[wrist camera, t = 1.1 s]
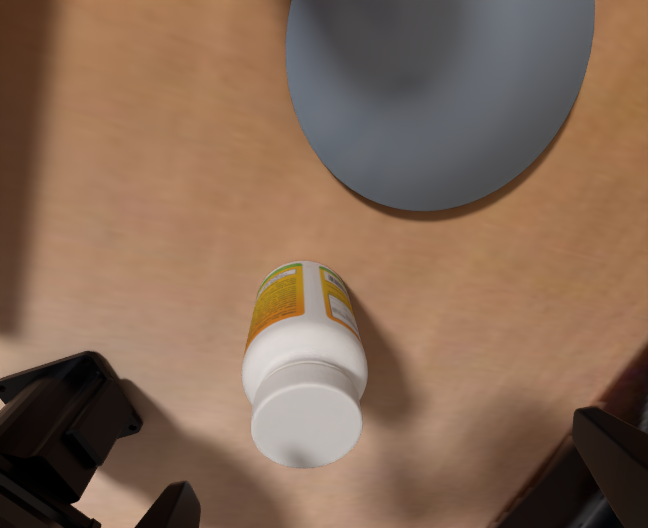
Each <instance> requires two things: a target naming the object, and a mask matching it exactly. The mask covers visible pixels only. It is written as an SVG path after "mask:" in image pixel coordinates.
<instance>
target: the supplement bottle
mask: <svg viewBox="0 0 648 528" xmlns="http://www.w3.org/2000/svg"><path fill="white" fill-rule="evenodd" d="M367 378H368V367H367V361H366V356H365V352H364V348H363V345H362V341H361V338H360V334H359V331H358V327H357V324H356V320H355V317H354V314H353V310H352V307H351V303H350V300H349V296H348V293H347V291H346V288H345V286H344V284H343V282H342V280H341V279H340V278H339V276H338V275H337V274H336V273H335V272H334V271H332V270H331V269H330V268H328V267H326V266H324V265H322V264H320V263H316V262H312V261H295V262H290V263H287V264H284V265H282V266H280V267H278V268H276V269H275V270H273V271H272V272H271V273H270V274H269V275H268V276H267V277H266V278H265V279H264V281H263V282H262V284H261V286H260V288H259V291H258V294H257V297H256V302H255V307H254V312H253V316H252V321H251V326H250V330H249V334H248V339H247V343H246V349H245V353H244V359H243V367H242V382H243V387H244V390H245V393H246V395H247V397H248V399H249V401H250V403H251V404H252V405H253V410H252V419H251V433H252V437H253V440H254V443H255V444H256V446H257V448H258V449H259V450H260V451H261V452H262V453H263V454H264V455H265V456H266V457H267V458H269V459H270V460H272V461H274V462H276V463H278V464H281V465H284V466H288V467H292V468H315V467H320V466H324V465H327V464H330V463H332V462H334V461H336V460H338V459H340V458H342V457H343V456H345V455H346V454H347V453H348V452H349V451H350V450H351V449H352V448H353V447H354V446H355V445H356V443H357V441H358V440H359V437H360V435H361V432H362V427H363V418H362V412H361V406H360V399H361V397H362V395H363V393H364V390H365V388H366V384H367Z"/></svg>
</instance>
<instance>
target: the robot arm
mask: <svg viewBox="0 0 648 528" xmlns="http://www.w3.org/2000/svg"><path fill="white" fill-rule="evenodd" d="M86 359H88V360H90V361H87V360H86ZM0 399H1V400H2V401H3V402H4V403H5V404H6V405H5V406H4V407H3V408H2V409H1V410H0V528H101V523H99V522H98V521H97V520H95V519H94V518H93V519H90V518H89V517H87V516H86V515H84V514H83V513H82V512H80V511H79V510H77V509H76V508H75V507H73V506H72V505H71V504H72V503H75V502H78V501H79V500H80V498H81V496H82V494H83V493H84V491H85V489H86V487H87V485H88V484H89V482H90V480H91V478H92V477H93V475H94V473H95V471H96V469H97V468H98V467H99V466H102V464H103V463H104V461H105V459H106V458H107V456H108V454H109V452H110V450H111V448H112V447H113V445H114V443H115V441H116V439H119V438H122V437H125V436H128V435H132V434H135V433H138V432H139V431H140V429H141V427H142V425H143V422H142V420H141V419H140V417H139V416H138V414H137V413H136V411H135V410H134V408H133V407H132V405H131V404H130V403H129V401H128V400H127V398H126V397H125V395H124V394H123V392H122V391H121V389H120V388H119V387H118V385H117V384H116V382H115V381H114V379H113V378H112V376H111V375H110V374H109V372H108V371H107V369H106V368H105V366H104V365H103V363H102V362H101V360H100V359H99V358H98V356H97V355H96V354H95V353H93V352H91V351H85V352H81V353H78V354H75V355H72V356H69V357H66V358H63V359H59V360H56V361H53V362H50V363H47V364H44V365H41V366H38V367H34V368H31V369H28V370H25V371H22V372H19V373H16V374H13V375H9V376H6V377H3V378H1V379H0ZM134 425H135V426H134ZM572 439H573V442H574V444H575V446H576V448H577V450H578V451H579V453H580V455H581V457H582V458H583V460H584V462H585V463H586V465H587V467H588V468H589V470H590V472H591V473H592V475H593V477H594V479H595V480H596V482H597V484H598V485H599V487H600V489H601V490H602V492H603V494H604V496H605V497H606V499H607V501H608V502H609V504H610V506H611V507H612V509H613V511H614V512H615V514H616V515H617V517H618V518H619V520H620V521H621V523H622V524H623V526H624V527H625V528H648V434H647V433H645V432H643V431H641V430H640V429H638V428H636V427H634V426H632V425H630V424H628V423H626V422H624V421H623V420H621V419H619V418H617V417H615V416H613V415H611V414H609V413H608V412H606V411H604V410H602V409H600V408H598V407H595V406H589V407H584V408H578V409H576V410H575V412H574V417H573V427H572ZM200 513H201V508H200V503H199V500H198V498H197V496H196V494H195V492H194V490H193V488H192V486H191V484H190V483H189V482H188V481H180V482H175V483H171V484H170V485H169V486H167V487H166V489H165V490H164V491H163V492H162V494H161V495H160V496H159V497H158V499H157V500H156V501H155V502H154V504H153V505H152V506H151V508H150V509H149V510H148V511H147V513H146V514H145V515H144V516H143V518H142V519H141V520H140V521H139V523H138V524H137V525H136V526H135V528H199V522H200Z"/></svg>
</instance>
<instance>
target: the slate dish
mask: <svg viewBox="0 0 648 528" xmlns="http://www.w3.org/2000/svg"><path fill="white" fill-rule="evenodd" d="M594 16H595V1H594V0H292V1H291V6H290V10H289V15H288V22H287V33H286V70H287V77H288V85H289V91H290V95H291V98H292V102H293V106H294V110H295V113H296V115H297V118H298V120H299V123H300V126H301V128H302V130H303V132H304V134H305V136H306V138H307V140H308V141H309V143H310V145H311V147H312V149H313V150H314V151H315V153H316V154H317V155H318V157H319V158H320V160H321V161H322V162H323V164H324V165H325V166H326V167H327V168H328V169H329V170H330V171H331V172H332V173H333V174H334V175H335V176H336V177H337V178H338V179H339V180H340V181H342V182H343V183H344V184H345V185H347V186H348V187H349V188H350V189H352V190H354V191H355V192H357V193H359V194H360V195H362V196H364V197H365V198H368V199H370V200H372V201H375V202H377V203H379V204H382V205H386V206H389V207H393V208H396V209H403V210H410V211H435V210H443V209H450V208H454V207H457V206H461V205H465V204H468V203H470V202H473V201H476V200H478V199H481V198H483V197H485V196H487V195H489V194H490V193H492V192H494V191H496V190H498V189H500V188H501V187H503V186H504V185H505V184H507V183H508V182H510V181H511V180H513V179H514V178H515V177H517V176H518V175H519V174H520V173H521V172H522V171H524V170H525V169H526V168H527V167H528V166H529V165H530V164H531V163H532V162H533V161H534V160H535V159H536V158H537V157H538V156H539V155H540V154H541V153H542V152H543V151H544V149H545V148H546V147H547V145H548V144H549V143H550V142H551V140H552V139H553V138H554V136H555V135H556V134H557V132H558V130H559V129H560V127H561V126H562V124H563V122H564V121H565V119H566V117H567V116H568V114H569V112H570V110H571V108H572V106H573V104H574V101H575V99H576V97H577V95H578V92H579V90H580V87H581V84H582V81H583V79H584V76H585V73H586V69H587V65H588V61H589V57H590V53H591V47H592V40H593V33H594Z"/></svg>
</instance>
